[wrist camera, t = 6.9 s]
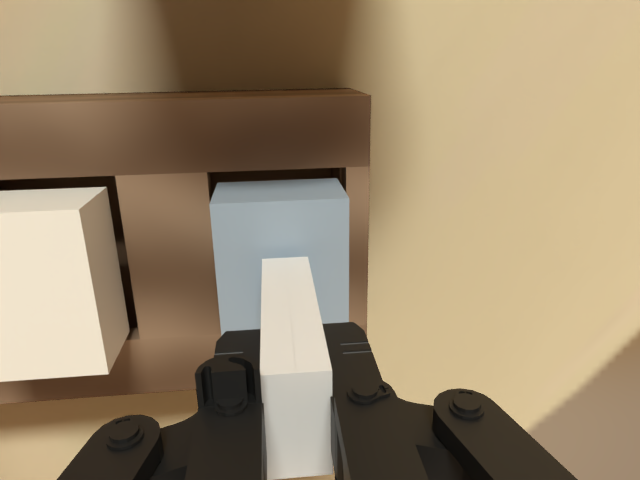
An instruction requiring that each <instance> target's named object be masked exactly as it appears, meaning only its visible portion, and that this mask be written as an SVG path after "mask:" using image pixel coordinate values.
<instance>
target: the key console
mask: <svg viewBox="0 0 640 480" xmlns="http://www.w3.org/2000/svg"><path fill="white" fill-rule="evenodd" d="M370 114H371V96H370V95H367V94H365V93H362V92H359V91H356V90H353V89H350V88H332V89H286V90H241V91H195V92H150V93H105V94H59V95H14V96H0V191H10V190H36V189H62V188H89V187H107V192H108V198H109V204H110V210H111V217H112V223H113V229H114V236H115V242H116V248H117V254H118V261H119V267H120V273H121V279H122V286H123V292H124V298H125V305H126V311H127V317H128V323H129V330H130V332H129V334H128V336H127V338H126V340H125V342H124V344H123V346H122V348H121V350H120V352H119V354H118V356H117V358H116V360H115V362H114V364H113V366H112V368H111V370H110V373H109V374H105V375H90V376H76V377H62V378H48V379H34V380H19V381H5V382H0V404H5V403H19V402H32V401H46V400H59V399H73V398H86V397H100V396H113V395H127V394H140V393H154V392H167V391H181V390H194V389H196V382H195V372H196V370H197V368H198V367H199V366H200V365H201V364H203V363H204V362H205V361H207V360H209V359H211V358H214V355H215V347H216V341H217V340H218V339H219V338H220V337H221V326H220V315H219V304H218V293H217V282H216V271H215V260H214V250H213V239H212V228H211V217H210V206H209V204H210V201H211V198H212V196H213V193H214V190H215V188H216V185H217V183H220V182H246V181H272V180H299V179H325V178H337V179H338V180H339V182H340V184H341V185H342V187H343V189H344V190H345V192H346V194H347V195H348V197H349V322H354V323H356V324H357V325H358V326H359V327H361V328H362V329H363V330H364V331H365V334H366V337H367V287H368V229H369V172H370Z"/></svg>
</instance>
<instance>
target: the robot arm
mask: <svg viewBox="0 0 640 480" xmlns="http://www.w3.org/2000/svg"><path fill="white" fill-rule="evenodd" d="M195 382H196V391H197V400H198V412H197V413H196V414H194V415H193V416H192V417H190V418H188V419H186V420H184V421H182V422H179V423H177V424H174V425H170V426H167V427H164V428H160V427H159V423H158V422H157V421H155V420H154V419H153V418H152V417H148V416H144V415H128V416H125V417H121V418H118V419H114V420H113V421H111V422H109V423H107V424H105V425H103V426H102V427H101V428H100V429H99V430H97V431H96V432H95V433H94V434H93V435H92V436H91V438H90V439H89V440H88V441H87V443H86V444H85V445H84V446H83V448H82V449H81V450H80V451H79V453H78V454H77V455H76V456H75V458H74V459H73V460H72V461H71V463H70V464H69V465H68V466H67V468H66V469H65V470H64V471H63V473H62V474H61V475H60V476H59V478H58V479H57V480H275V479H286V478H297V477H309V476H320V475H331V474H333V465H334V471H335V480H577V479H576V478H575V477H574V476H573V475H572V474H571V473H570V472H569V471H567V469H566V468H564V467H563V466H562V465H561V464H560V463H559V462H558V461H557V460H556V459H555V458H554V457H553V456H552V455H551V454H550V453H548V452H547V451H546V450H545V449H544V448H543V447H542V446H541V445H540V444H539V443H538V442H537V441H535V439H533V438H532V437H531V436H530V435H529V434H528V433H527V432H526V431H525V430H524V429H523V428H522V427H521V426H520V425H518V424H517V423H516V422H515V421H514V420H513V419H512V418H511V417H510V416H509V415H508V414H507V413H506V412H505V411H503V410H502V409H501V408H500V407H499V406H498V405H497V404H496V403H495V402H494V401H493V400H491V399H490V398H488V397H487V396H485V395H484V394H481V393H478V392H476V391H473V390H467V389H451V390H447V391H444V392H442V393H440V394H439V395H438V396H437V397H436V398H435V399H434V406H431V405H424V404H417V403H412V402H408V401H405V400H402V399H400V398H398V397H397V396H396V393H395V391H394V390H393V389H392V387H391V386H390V385H389V384H387V383H385V382H384V381H383V380H382V378H381V375H380V372H379V369H378V367H377V364H376V361H375V358H374V356H373V353H372V352H371V347H370V345H369V343H368V339H367V337H366V334H365V331H364V330H363V329H362V328H361V327H359V326H358V325H357V324H356V323H354V322H343V323H327V324H322V320H321V316H320V311H319V306H318V302H317V297H316V292H315V287H314V283H313V278H312V273H311V269H310V264H309V259H308V257H289V258H269V259H262V285H261V329H253V330H237V331H226V332H225V333H224V334H223V335H222V336H221V337H220V338H219V339H218V340H217V341H216V347H215V355H214V358H211V359H209V360H207V361H205V362H204V363H203V364H201V365H200V366H199V367H198V368H197V370H196V372H195Z"/></svg>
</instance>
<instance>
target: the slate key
mask: <svg viewBox="0 0 640 480" xmlns="http://www.w3.org/2000/svg"><path fill="white" fill-rule="evenodd" d="M209 206H210V217H211V228H212V239H213V250H214V260H215V271H216V282H217V293H218V304H219V315H220V326H221V336H222V335H223V334H224V333H225V332H226V331H237V330H253V329H261V285H262V259H269V258H289V257H308V259H309V264H310V269H311V273H312V278H313V283H314V287H315V292H316V297H317V302H318V306H319V311H320V316H321V320H322V324H327V323H343V322H349V197H348V195H347V194H346V192H345V190H344V189H343V187H342V185H341V184H340V182H339V180H338V179H337V178H325V179H299V180H272V181H246V182H220V183H217V185H216V188H215V190H214V193H213V196H212V198H211V201H210V204H209Z"/></svg>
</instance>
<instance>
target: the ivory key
mask: <svg viewBox="0 0 640 480" xmlns="http://www.w3.org/2000/svg"><path fill="white" fill-rule="evenodd" d="M129 332H130V330H129V323H128V317H127V311H126V305H125V298H124V292H123V286H122V279H121V273H120V267H119V261H118V254H117V248H116V242H115V236H114V229H113V223H112V217H111V210H110V204H109V198H108V192H107V187H89V188H62V189H36V190H10V191H0V382H5V381H19V380H34V379H48V378H62V377H76V376H90V375H105V374H109V373H110V370H111V368H112V366H113V364H114V362H115V360H116V358H117V356H118V354H119V352H120V350H121V348H122V346H123V344H124V342H125V340H126V338H127V336H128V334H129Z"/></svg>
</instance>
